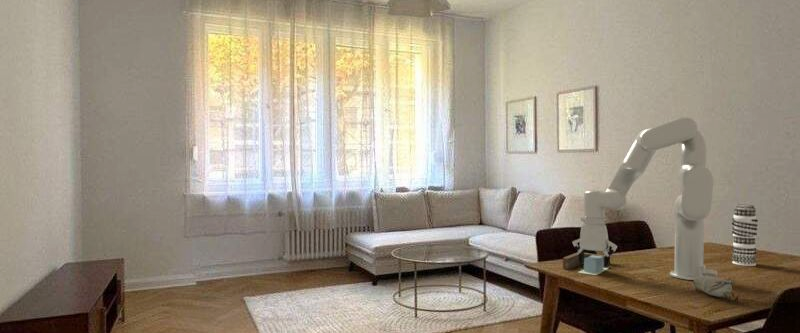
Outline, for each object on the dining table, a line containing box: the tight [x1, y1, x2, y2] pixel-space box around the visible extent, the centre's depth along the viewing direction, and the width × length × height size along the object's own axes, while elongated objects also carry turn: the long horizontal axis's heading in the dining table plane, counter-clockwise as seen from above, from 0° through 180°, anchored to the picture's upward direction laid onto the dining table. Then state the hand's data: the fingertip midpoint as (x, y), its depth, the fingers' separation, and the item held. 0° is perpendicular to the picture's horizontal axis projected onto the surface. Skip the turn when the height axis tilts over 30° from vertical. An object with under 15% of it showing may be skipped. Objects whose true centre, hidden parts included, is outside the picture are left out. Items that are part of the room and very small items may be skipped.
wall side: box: [580, 252, 609, 268], centre depth 213 cm, size 12×2×4 cm, turn 50°
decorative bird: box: [693, 275, 739, 304], centre depth 166 cm, size 5×16×8 cm, turn 11°
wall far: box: [562, 251, 582, 270], centre depth 211 cm, size 2×16×4 cm, turn 139°
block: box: [583, 255, 603, 273], centre depth 203 cm, size 9×4×5 cm, turn 140°
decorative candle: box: [731, 203, 759, 267], centre depth 215 cm, size 9×9×25 cm
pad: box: [577, 267, 609, 276], centre depth 203 cm, size 7×15×1 cm, turn 140°
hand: (594, 264), depth 203 cm, fingers open, 9 cm apart
